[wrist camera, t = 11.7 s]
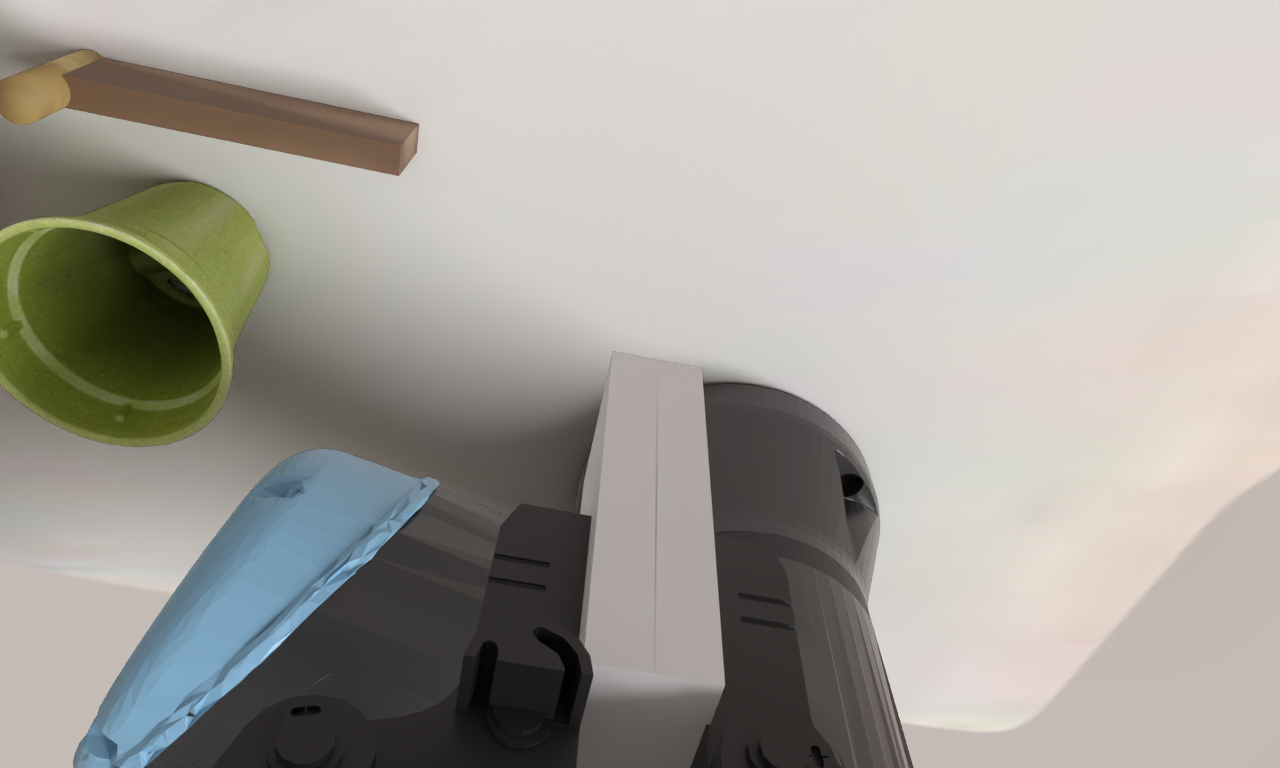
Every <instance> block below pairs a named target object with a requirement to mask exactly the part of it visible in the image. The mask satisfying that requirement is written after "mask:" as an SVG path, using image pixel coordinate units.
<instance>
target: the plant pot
mask: <svg viewBox="0 0 1280 768" xmlns="http://www.w3.org/2000/svg"><path fill="white" fill-rule="evenodd" d="M268 271H269V253H268V250H267V248H266V246H265V244H264V242H263V240H262V238H261V236H260V234H259V232H258V229H257V227H256V224H255V222H254V220H253V218H252V217H251V216H250V214H249V213H248V212H247V211H246V210H245V209H244V208H243V207H242V206H240V205H239V204H238V203H237V202H236V201H234V200H233V199H231V198H230V197H228V196H227V195H225V194H224V193H222V192H220V191H218V190H216V189H214V188H211V187H209V186H206V185H202V184H199V183H193V182H173V183H165V184H160V185H157V186H153V187H151V188H149V189H146V190H144V191H141V192H139V193H136V194H134V195H132V196H129V197H127V198H124V199H122V200H120V201H117V202H115V203H112V204H110V205H107V206H105V207H102V208H100V209H97V210H95V211H92V212H90V213H88V214H85V215H83V216H72V217H69V216H48V217H38V218H33V219H28V220H24V221H20V222H18V223H15V224H13V225H10V226H8V227H6V228H4V229H2V230H0V385H1V386H2V387H3V388H4V389H5V390H6V391H7V392H9V393H10V394H11V395H12V396H13V397H14V398H15V399H16V400H18V401H19V402H20V403H21V404H23V405H24V406H25V407H27V408H28V409H30V410H31V411H32V412H34V413H35V414H37V415H38V416H40V417H41V418H43V419H45V420H47V421H48V422H50V423H52V424H54V425H56V426H58V427H60V428H62V429H64V430H66V431H69V432H71V433H74V434H76V435H78V436H81V437H84V438H87V439H90V440H93V441H97V442H101V443H106V444H111V445H121V446H132V447H147V446H157V445H166V444H170V443H173V442H176V441H179V440H182V439H185V438H187V437H189V436H191V435H193V434H195V433H196V432H198V431H199V430H201V429H202V428H204V427H205V426H206V425H207V424H208V423H209V422H211V420H212V419H213V418H214V417H215V416H216V415H217V413H218V412H219V410H220V409H221V408H222V406H223V404H224V403H225V401H226V398H227V396H228V394H229V390H230V387H231V383H232V378H233V351H234V346H235V344H236V342H237V339H238V337H239V335H240V333H241V331H242V329H243V326H244V324H245V322H246V320H247V318H248V316H249V314H250V312H251V310H252V308H253V306H254V304H255V302H256V300H257V298H258V296H259V294H260V292H261V290H262V288H263V286H264V284H265V282H266V279H267V276H268ZM168 279H173V280H175V281H177V282H179V283H180V284H182V285H183V286H185V287H187V288H188V289H189V290H190V291H191V292H192V293H193V295H194V296H190V295H187V294H184V293H182V292H180V291H179V290H177V289H175V288H174V287H173V286H172V285H171V284H170V283H169V281H168Z"/></svg>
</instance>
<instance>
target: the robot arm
mask: <svg viewBox="0 0 1280 768" xmlns="http://www.w3.org/2000/svg"><path fill="white" fill-rule="evenodd" d="M439 484H440V481H437V480H435V479H433V478H431V477H424V478H421V479H417V478H414V477H412V476H409V475H406V474H403V473H401V472H398V471H395V470H392V469H389V468H387V467H384V466H381V465H378V464H376V463H373V462H370V461H367V460H365V459H362V458H359V457H356V456H353V455H351V454H348V453H345V452H342V451H337V450H332V449H315V450H308V451H304V452H301V453H298V454H296V455H294V456H291V457H289V458H287V459H286V460H284V461H283V462H281V463H279V464H278V465H277V466H276V467H275V468H274V469H272V470H271V471H270V472H269V473H268V474H266V475H265V476H264V477H263V478H262V479H261V481H260V482H259V483H258V484H257V485H256V486H255V487H254V488H253V489H252V490H251V492H250V493H249V494H248V495H247V496H246V497H245V499H244V500H243V501H242V502H241V504H240V505H239V506H238V507H237V509H236V510H235V511H234V512H233V514H232V515H231V516H230V518H229V519H228V520H227V521H226V523H225V524H224V525H223V527H222V528H221V529H220V530H219V532H218V533H217V534H216V536H215V537H214V538H213V540H212V541H211V542H210V543H209V545H208V546H207V547H206V549H205V550H204V551H203V553H202V554H201V556H200V557H199V558H198V560H197V561H196V563H195V564H194V565H193V567H192V568H191V569H190V571H189V572H188V573H187V575H186V576H185V578H184V579H183V580H182V582H181V583H180V585H179V586H178V587H177V589H176V590H175V592H174V593H173V594H172V596H171V597H170V599H169V600H168V602H167V603H166V605H165V606H164V607H163V609H162V610H161V612H160V613H159V615H158V616H157V618H156V619H155V621H154V622H153V623H152V625H151V626H150V628H149V629H148V631H147V632H146V634H145V635H144V637H143V638H142V640H141V641H140V643H139V644H138V646H137V647H136V649H135V650H134V652H133V654H132V655H131V657H130V658H129V660H128V661H127V663H126V664H125V666H124V668H123V669H122V671H121V672H120V674H119V676H118V677H117V679H116V680H115V682H114V683H113V685H112V687H111V688H110V690H109V692H108V694H107V695H106V697H105V699H104V701H103V702H102V704H101V706H100V708H99V711H98V715H97V716H96V718H95V719H94V721H93V723H92V725H91V727H90V729H89V731H88V733H87V734H86V736H85V737H84V738H83V739H82V741H81V742H80V743H79V746H78V748H77V750H76V753H75V756H74V760H73V767H74V768H913V765H912V761H911V758H910V754H909V751H908V747H907V744H906V740H905V737H904V733H903V730H902V726H901V723H900V719H899V716H898V712H897V709H896V705H895V702H894V698H893V695H892V691H891V688H890V684H889V681H888V678H887V674H886V671H885V667H884V664H883V660H882V657H881V653H880V650H879V646H878V643H877V639H876V636H875V632H874V629H873V626H872V622H871V619H870V615H869V611H868V607H867V603H868V598H869V592H870V587H871V581H872V575H873V570H874V564H875V559H876V553H877V547H878V542H879V534H880V514H879V505H878V500H877V496H876V492H875V489H874V486H873V483H872V480H871V476H870V473H869V470H868V467H867V464H866V462H865V459H864V457H863V455H862V453H861V451H860V450H859V448H858V446H857V445H856V443H855V442H854V440H853V439H852V438H851V437H850V435H849V434H848V433H847V432H846V431H845V430H844V429H843V428H842V426H840V425H839V424H838V423H837V422H836V421H835V420H834V419H833V418H831V417H830V416H829V415H827V414H826V413H825V412H823V411H822V410H820V409H819V408H817V407H815V406H813V405H812V404H810V403H808V402H806V401H804V400H802V399H800V398H797V397H795V396H792V395H789V394H787V393H784V392H780V391H777V390H773V389H769V388H764V387H758V386H752V385H741V384H717V385H706V386H703V377H702V368H697V367H692V366H687V365H682V364H677V363H671V362H666V361H661V360H656V359H650V358H645V357H640V356H635V355H630V354H624V353H619V352H614V351H613V352H612V357H611V361H610V366H609V371H608V375H607V380H606V384H605V389H604V393H603V398H602V402H601V407H600V411H599V416H598V420H597V425H596V429H595V434H594V438H593V443H592V448H591V452H590V456H589V458H588V459H587V461H586V464H585V466H584V468H583V471H582V473H581V476H580V480H579V484H578V489H577V496H576V504H575V512H574V513H572V512H566V511H560V510H554V509H549V508H543V507H537V506H532V505H526V504H520V505H519V506H518V507H517V509H516V510H515V511H514V512H513V513H512V514H511V515H510V516H509V517H508V516H506V515H504V514H501V513H499V512H496V511H494V510H492V509H489V508H487V507H485V506H482V505H480V504H477V503H475V502H473V501H470V500H468V499H465V498H463V497H461V496H458V495H456V494H454V493H451V492H449V491H446V490H444V489H442V488H439V487H438V486H439Z"/></svg>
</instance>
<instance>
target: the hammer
mask: <svg viewBox="0 0 1280 768" xmlns="http://www.w3.org/2000/svg"><path fill="white" fill-rule="evenodd" d="M63 108H69V109H74V110H79V111H84V112H89V113H94V114H99V115H104V116H108V117H113V118H118V119H123V120H128V121H133V122H138V123H143V124H148V125H152V126H157V127H162V128H167V129H172V130H177V131H182V132H187V133H192V134H196V135H201V136H206V137H211V138H216V139H221V140H226V141H231V142H236V143H240V144H245V145H250V146H255V147H260V148H265V149H270V150H275V151H280V152H284V153H289V154H294V155H299V156H304V157H309V158H314V159H319V160H324V161H328V162H333V163H338V164H343V165H348V166H353V167H358V168H363V169H368V170H372V171H377V172H382V173H387V174H392V175H397V176H399V175H400V174H401V172H402V171H403V170H404V168H405V167H406V166H407V164H408V163H409V162H410V160H411V159H412V158H413V157H414V155H415V154H416V153H417V141H418V129H419V124H416V123H411V122H407V121H402V120H397V119H392V118H388V117H383V116H378V115H373V114H369V113H364V112H359V111H354V110H350V109H345V108H340V107H335V106H330V105H326V104H321V103H316V102H311V101H307V100H302V99H297V98H292V97H288V96H283V95H278V94H273V93H269V92H264V91H259V90H254V89H249V88H245V87H240V86H235V85H230V84H226V83H221V82H216V81H211V80H207V79H202V78H197V77H192V76H188V75H183V74H178V73H173V72H169V71H164V70H159V69H154V68H149V67H145V66H140V65H135V64H130V63H126V62H121V61H116V60H111V59H107V58H103V57H102V56H101V55H99V54H98V53H96V52H94V51H92V50H87V49H82V50H78V51H76V52H73V53H71V54H68V55H65V56H63V57H60V58H57V59H55V60H52V61H50V62H47V63H44V64H42V65H39V66H36V67H34V68H31V69H29V70H26V71H23V72H21V73H18V74H15V75H13V76H10V77H7V78H5V79H2V80H0V114H1V115H2V116H3V117H4V118H6V119H7V120H9V121H11V122H13V123H15V124H19V125H28V124H31V123H33V122H35V121H37V120H40V119H42V118H44V117H46V116H48V115H50V114H52V113H55V112H57V111H59V110H61V109H63Z"/></svg>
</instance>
